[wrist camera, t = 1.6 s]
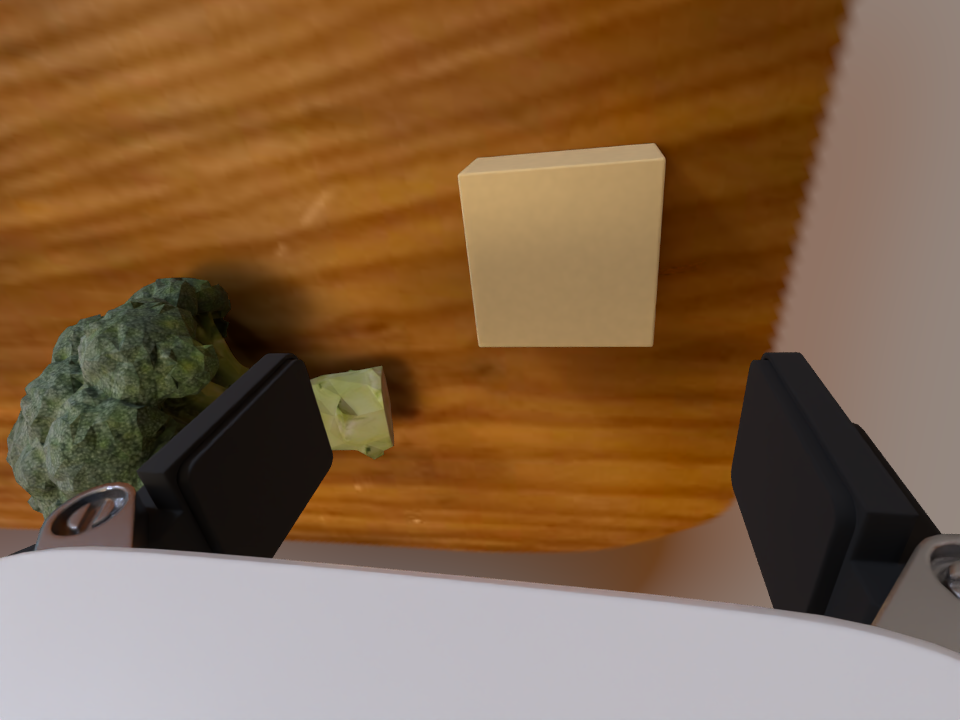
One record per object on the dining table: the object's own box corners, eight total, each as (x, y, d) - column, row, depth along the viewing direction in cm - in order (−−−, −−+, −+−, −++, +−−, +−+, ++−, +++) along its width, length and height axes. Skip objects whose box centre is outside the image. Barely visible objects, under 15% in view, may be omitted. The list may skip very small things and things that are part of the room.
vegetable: (395, 538, 29) (84, 587, 25) (376, 327, 32) (101, 339, 28) (425, 544, 17) (-138, 635, 13) (390, 219, 21) (-62, 214, 17)
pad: (655, 142, 18) (666, 157, 15) (645, 311, 21) (653, 347, 19) (475, 157, 20) (456, 174, 17) (492, 313, 23) (478, 347, 20)
